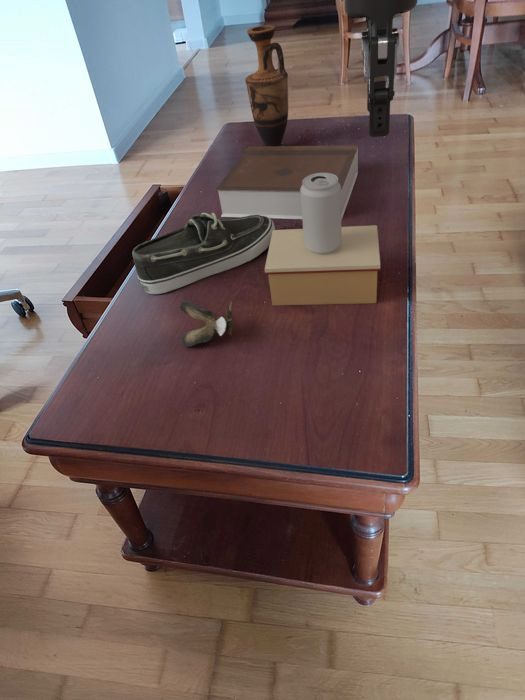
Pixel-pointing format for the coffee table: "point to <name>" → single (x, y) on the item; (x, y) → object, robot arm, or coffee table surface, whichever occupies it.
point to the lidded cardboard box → (324, 269)
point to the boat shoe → (200, 250)
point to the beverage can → (321, 212)
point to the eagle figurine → (211, 323)
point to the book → (283, 179)
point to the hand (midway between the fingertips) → (377, 122)
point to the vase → (268, 88)
